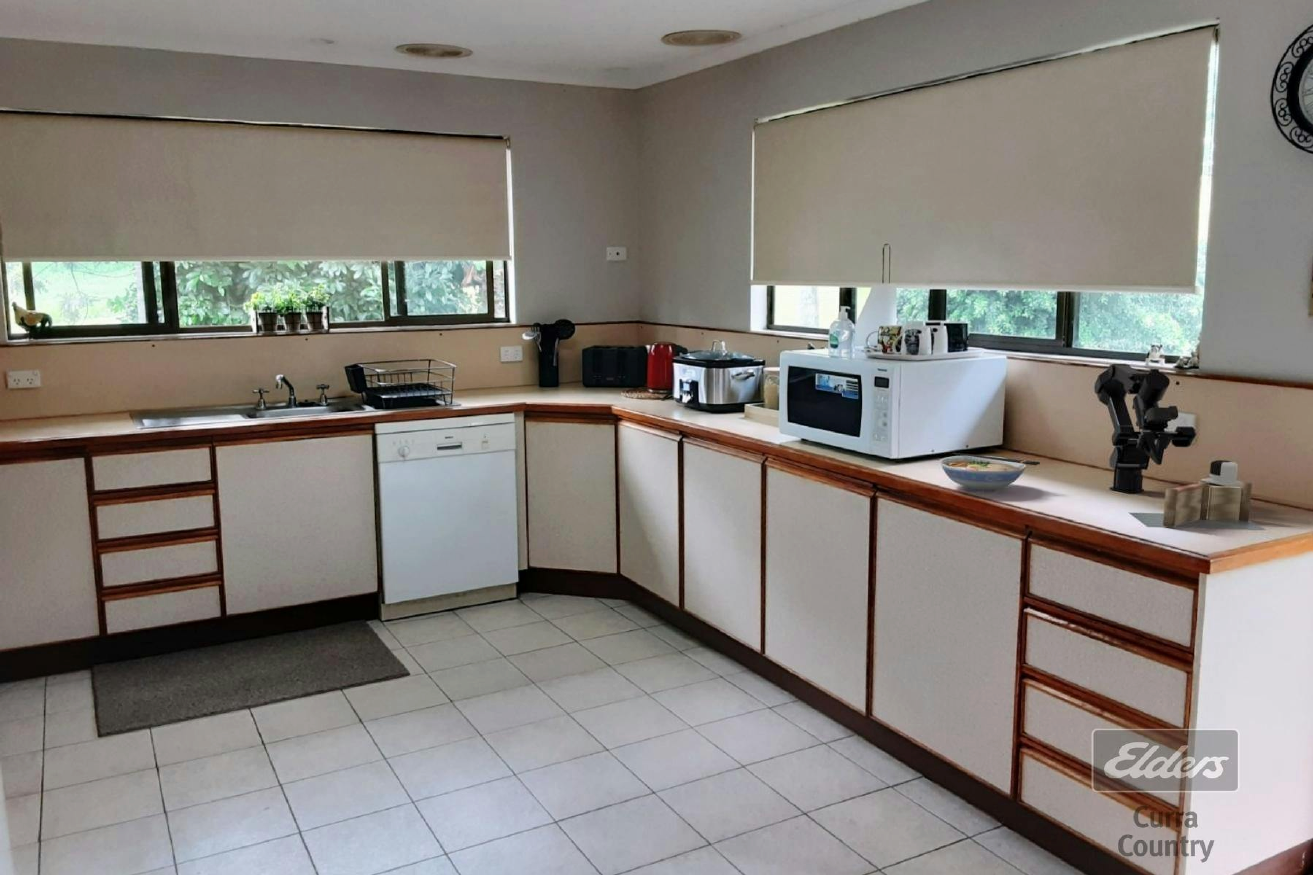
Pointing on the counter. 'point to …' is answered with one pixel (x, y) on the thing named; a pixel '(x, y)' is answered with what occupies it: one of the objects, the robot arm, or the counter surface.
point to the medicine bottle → (1223, 474)
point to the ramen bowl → (983, 471)
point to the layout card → (1195, 522)
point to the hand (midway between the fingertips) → (1159, 464)
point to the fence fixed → (1225, 502)
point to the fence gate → (1182, 504)
